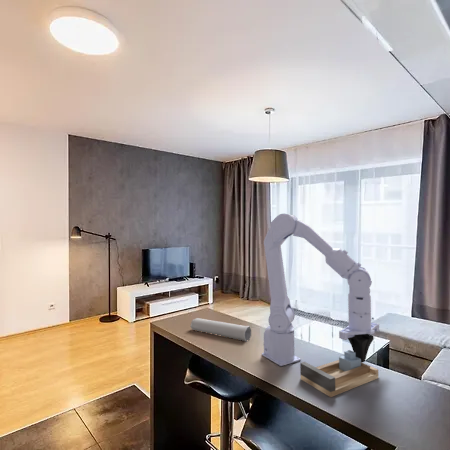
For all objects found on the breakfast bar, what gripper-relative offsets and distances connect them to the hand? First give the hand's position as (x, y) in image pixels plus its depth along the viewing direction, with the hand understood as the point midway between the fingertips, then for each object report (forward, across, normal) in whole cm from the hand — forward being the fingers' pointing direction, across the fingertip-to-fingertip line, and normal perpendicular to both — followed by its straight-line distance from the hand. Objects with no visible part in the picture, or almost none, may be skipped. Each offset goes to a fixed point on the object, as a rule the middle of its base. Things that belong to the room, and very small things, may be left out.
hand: (360, 360), depth 84 cm
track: (+3, -8, 0) cm, 9 cm away
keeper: (+2, -4, 0) cm, 5 cm away
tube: (+3, -20, +46) cm, 50 cm away
